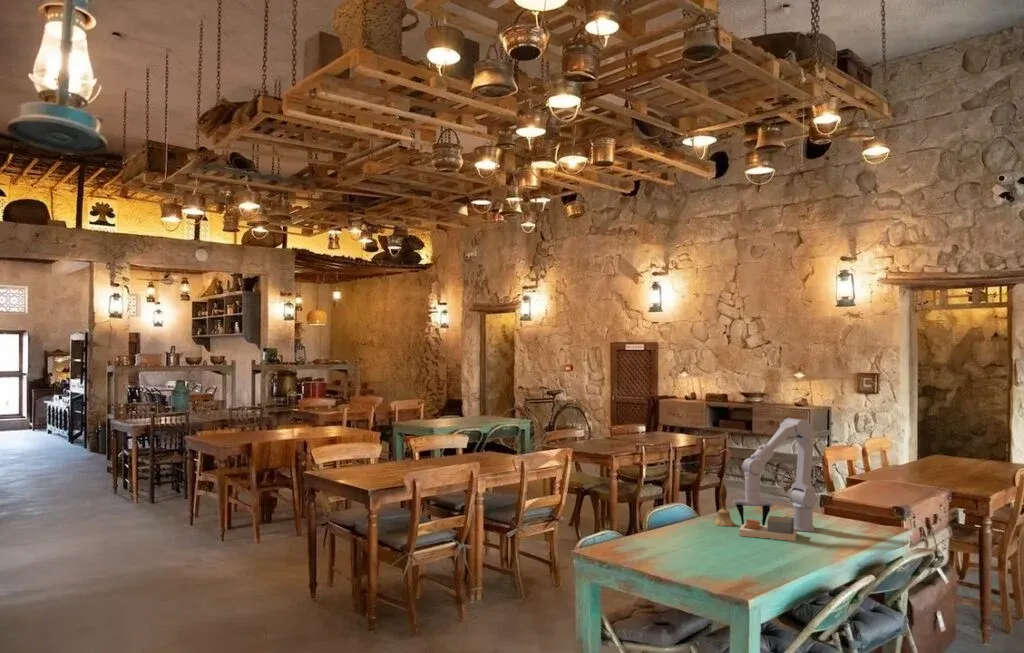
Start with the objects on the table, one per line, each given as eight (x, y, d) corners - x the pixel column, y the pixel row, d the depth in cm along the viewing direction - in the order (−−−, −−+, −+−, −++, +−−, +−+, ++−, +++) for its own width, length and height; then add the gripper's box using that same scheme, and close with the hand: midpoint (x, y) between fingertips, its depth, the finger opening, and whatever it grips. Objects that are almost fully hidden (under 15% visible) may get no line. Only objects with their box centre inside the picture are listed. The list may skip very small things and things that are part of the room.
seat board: (742, 528, 290) (742, 522, 290) (796, 533, 282) (796, 527, 282) (739, 535, 279) (739, 529, 279) (795, 541, 271) (794, 534, 271)
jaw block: (746, 531, 286) (746, 519, 286) (758, 532, 285) (758, 519, 285) (747, 534, 281) (747, 521, 282) (759, 535, 280) (759, 522, 281)
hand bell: (709, 523, 300) (709, 484, 301) (725, 521, 304) (724, 482, 304) (723, 527, 293) (722, 487, 293) (739, 525, 296) (738, 486, 296)
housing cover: (769, 525, 285) (769, 515, 285) (794, 527, 281) (794, 517, 281) (767, 530, 276) (767, 520, 276) (793, 533, 273) (792, 523, 273)
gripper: (771, 488, 286) (771, 523, 285) (732, 486, 289) (733, 521, 289) (773, 491, 279) (773, 527, 278) (733, 490, 282) (734, 525, 282)
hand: (753, 524), depth 283 cm, fingers open, 7 cm apart
